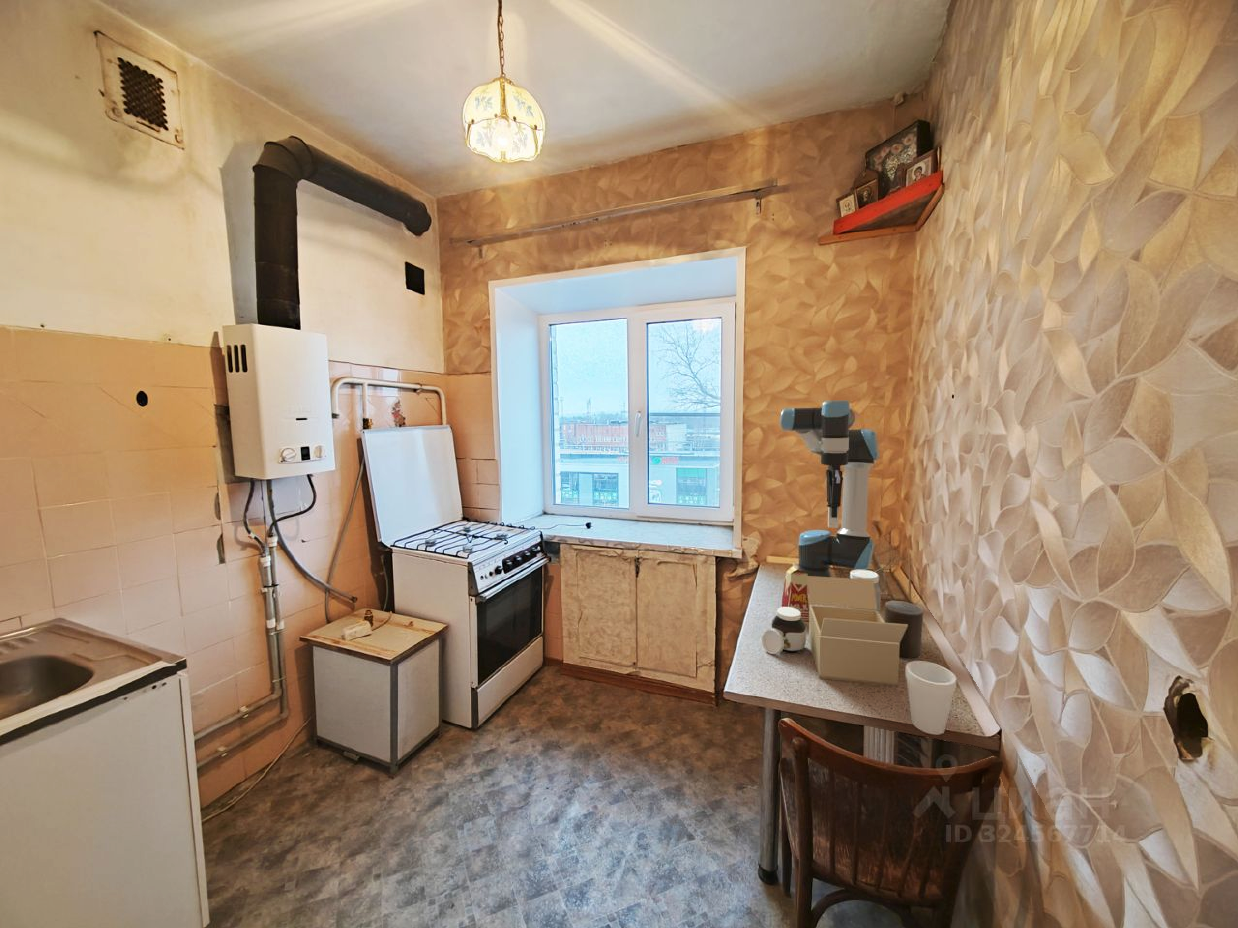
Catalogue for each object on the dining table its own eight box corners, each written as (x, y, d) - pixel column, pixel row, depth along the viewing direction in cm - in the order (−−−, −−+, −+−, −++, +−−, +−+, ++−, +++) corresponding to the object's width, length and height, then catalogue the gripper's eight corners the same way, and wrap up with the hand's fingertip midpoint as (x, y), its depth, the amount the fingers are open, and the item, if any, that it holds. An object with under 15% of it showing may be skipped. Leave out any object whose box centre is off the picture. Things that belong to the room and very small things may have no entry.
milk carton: (812, 624, 152) (814, 568, 150) (784, 623, 154) (784, 567, 151) (807, 612, 161) (808, 559, 158) (780, 611, 163) (780, 558, 160)
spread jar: (807, 645, 139) (808, 609, 138) (801, 663, 130) (802, 625, 128) (768, 636, 145) (768, 602, 144) (759, 653, 136) (759, 616, 134)
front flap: (824, 617, 115) (824, 618, 115) (907, 624, 110) (907, 625, 110) (820, 634, 121) (820, 635, 121) (899, 641, 116) (899, 643, 116)
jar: (847, 628, 148) (848, 576, 146) (846, 616, 157) (847, 566, 155) (881, 634, 144) (883, 580, 142) (878, 620, 153) (880, 570, 151)
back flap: (873, 579, 139) (872, 580, 139) (807, 575, 144) (807, 576, 144) (877, 609, 135) (877, 609, 135) (809, 604, 140) (809, 604, 140)
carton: (808, 641, 141) (809, 605, 140) (875, 647, 136) (877, 610, 135) (819, 678, 122) (820, 636, 121) (897, 687, 117) (899, 644, 116)
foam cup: (894, 712, 108) (896, 662, 106) (930, 709, 108) (933, 659, 107) (924, 741, 98) (927, 686, 97) (963, 737, 99) (967, 682, 97)
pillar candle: (901, 661, 129) (904, 612, 127) (875, 644, 138) (877, 598, 136) (929, 656, 131) (932, 607, 129) (901, 640, 140) (903, 594, 139)
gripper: (817, 449, 144) (816, 521, 146) (825, 453, 131) (823, 532, 134) (843, 449, 142) (841, 522, 144) (853, 453, 129) (851, 533, 132)
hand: (832, 526), depth 139 cm, fingers closed
